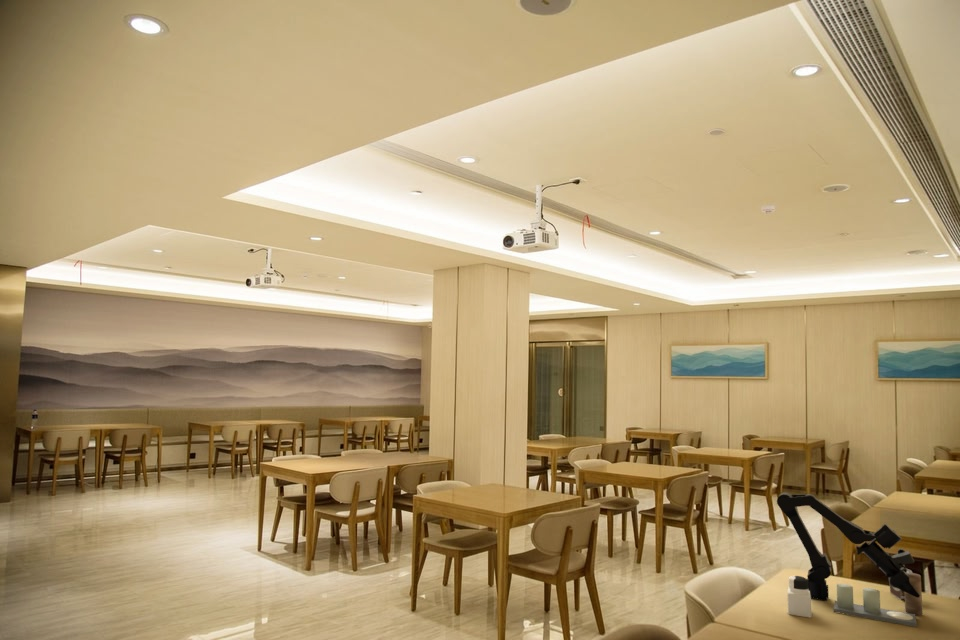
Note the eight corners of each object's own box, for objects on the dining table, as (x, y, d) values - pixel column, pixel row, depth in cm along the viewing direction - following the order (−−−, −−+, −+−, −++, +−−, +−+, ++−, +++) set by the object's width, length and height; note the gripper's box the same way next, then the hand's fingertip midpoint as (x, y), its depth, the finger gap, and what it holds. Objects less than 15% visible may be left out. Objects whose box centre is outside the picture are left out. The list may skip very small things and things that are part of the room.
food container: (921, 603, 233) (920, 575, 234) (902, 601, 234) (901, 573, 235) (906, 592, 245) (904, 566, 246) (888, 591, 246) (887, 564, 247)
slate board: (833, 612, 221) (833, 607, 221) (834, 604, 230) (834, 600, 230) (916, 626, 209) (916, 622, 209) (915, 617, 217) (914, 613, 217)
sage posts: (837, 607, 223) (836, 586, 224) (837, 603, 227) (836, 582, 228) (880, 614, 216) (879, 593, 217) (880, 610, 220) (879, 589, 221)
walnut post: (905, 613, 221) (903, 575, 223) (905, 609, 226) (903, 571, 227) (923, 616, 219) (921, 577, 220) (922, 612, 223) (920, 574, 224)
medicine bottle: (810, 611, 221) (809, 576, 222) (811, 618, 215) (810, 581, 216) (787, 608, 224) (786, 573, 225) (788, 614, 218) (787, 578, 219)
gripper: (899, 548, 218) (940, 586, 212) (895, 537, 235) (933, 573, 228) (873, 568, 221) (913, 607, 215) (871, 556, 238) (908, 592, 231)
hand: (917, 594), depth 222 cm, fingers open, 7 cm apart
